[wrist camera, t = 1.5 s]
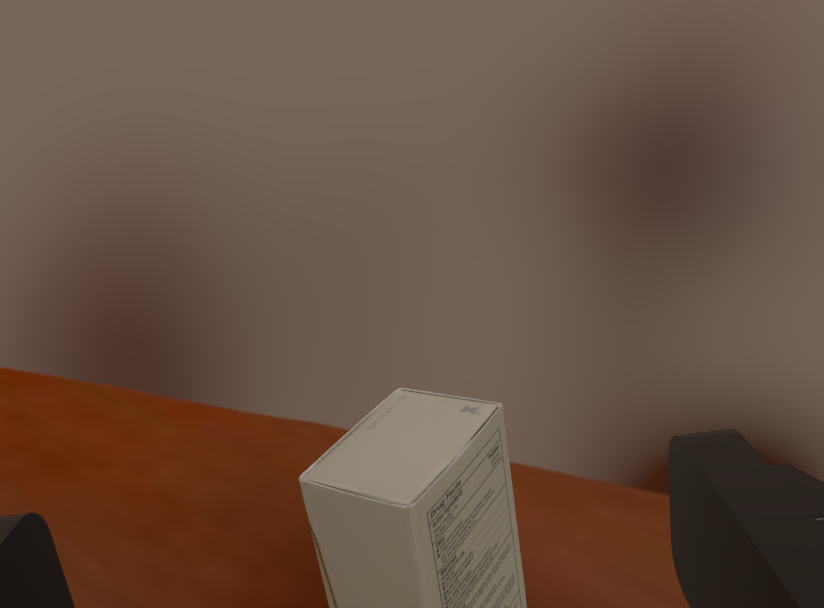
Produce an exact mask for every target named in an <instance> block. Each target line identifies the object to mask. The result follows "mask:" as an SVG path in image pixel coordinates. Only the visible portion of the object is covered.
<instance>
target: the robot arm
mask: <svg viewBox="0 0 824 608" xmlns="http://www.w3.org/2000/svg"><path fill="white" fill-rule="evenodd" d="M669 486H670V519H671V546H672V554H673V560H674V565H675V569H676V573H677V577H678V580H679V583H680V586H681V589H682V591H683V594H684V596H685V598H686V600H687V602H688V604H689V606H690V608H824V482H822V481H820V480H818V479H816V478H814V477H812V476H810V475H809V474H807V473H805V472H803V471H801V470H799V469H797V468H795V467H793V466H791V465H790V464H780V465H771V466H768V465H767V463H765V461H764V460H763V459H762V458H761V457H760V455H759V454H758V453H757V452H756V451H755V450H754V449H753V447H752V446H751V445H750V444H749V443H748V442H747V441H746V440H745V438H744V437H743V436H742V435H741V434H740V433H739V432H738V431H737V430H735V429H727V430H719V431H712V432H703V433H695V434H687V435H679V436H673V437H672V438H671V441H670V444H669ZM0 608H75V607H74V604H73V601H72V598H71V595H70V592H69V589H68V586H67V582H66V579H65V576H64V573H63V570H62V567H61V564H60V561H59V558H58V555H57V552H56V549H55V545H54V542H53V539H52V536H51V533H50V530H49V528H48V525H47V523H46V522H45V520H44V519H43V518H42V517H41V516H40V515H38V514H36V513H27V514H19V515H11V516H2V517H0Z"/></svg>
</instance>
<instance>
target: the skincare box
mask: <svg viewBox="0 0 824 608" xmlns="http://www.w3.org/2000/svg"><path fill="white" fill-rule="evenodd" d="M299 483H300V486H301V491H302V495H303V499H304V503H305V508H306V511H307V515H308V519H309V524H310V528H311V532H312V537H313V541H314V545H315V550H316V554H317V558H318V562H319V566H320V571H321V575H322V580H323V583H324V587H325V592H326V596H327V600H328V604H329V608H527V603H526V594H525V586H524V577H523V570H522V561H521V553H520V545H519V538H518V528H517V520H516V512H515V503H514V495H513V487H512V479H511V470H510V462H509V455H508V445H507V437H506V428H505V420H504V413H503V405H502V403H498V402H489V401H484V400H478V399H471V398H465V397H459V396H453V395H445V394H440V393H435V392H426V391H419V390H414V389H407V388H399V389H397V390H396V391H395V392H393V393H392V394H391V395H390V396H389V397H387V398H386V399H385V400H384V401H383V402H381V403H380V404H379V405H378V406H377V407H376V408H375V409H374V410H372V411H371V412H370V413H369V414H368V415H367V416H366V417H365V418H363V419H362V420H361V421H360V422H359V423H358V424H357V425H355V426H354V427H353V428H352V429H351V430H350V431H349V432H348V433H346V434H345V435H344V436H343V437H342V438H341V439H340V440H339V441H338V442H337V443H335V444H334V445H333V446H332V447H331V448H330V449H329V450H328V451H327V452H326V453H325V454H324V455H322V456H321V457H320V458H319V459H318V460H317V461H316V462H315V463H313V464H312V465H311V466H310V467H309V468H308V469H307V470H306V471H305V472H304V473H302V474H301V476H300V477H299Z"/></svg>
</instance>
